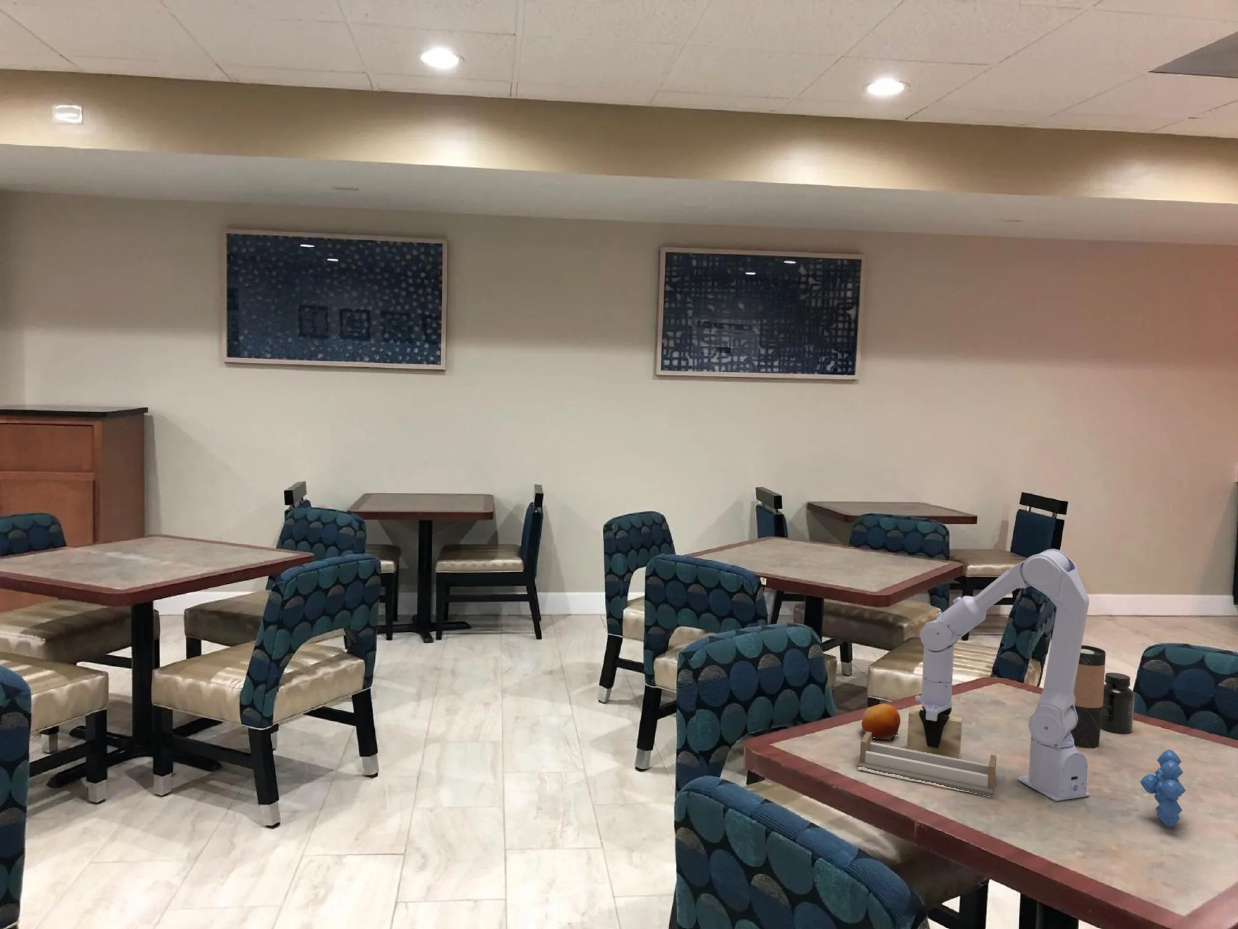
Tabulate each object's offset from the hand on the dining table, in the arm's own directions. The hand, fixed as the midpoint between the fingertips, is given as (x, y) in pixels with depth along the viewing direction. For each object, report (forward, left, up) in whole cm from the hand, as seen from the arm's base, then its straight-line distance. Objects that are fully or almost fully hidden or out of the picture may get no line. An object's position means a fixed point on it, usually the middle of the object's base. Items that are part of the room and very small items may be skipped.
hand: (933, 744), depth 177 cm
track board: (-8, +8, -2) cm, 11 cm away
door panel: (0, 0, -2) cm, 2 cm away
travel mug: (-3, -35, -2) cm, 35 cm away
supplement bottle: (+1, -49, -2) cm, 49 cm away
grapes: (-34, -20, -2) cm, 40 cm away
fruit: (+11, +5, -2) cm, 12 cm away
